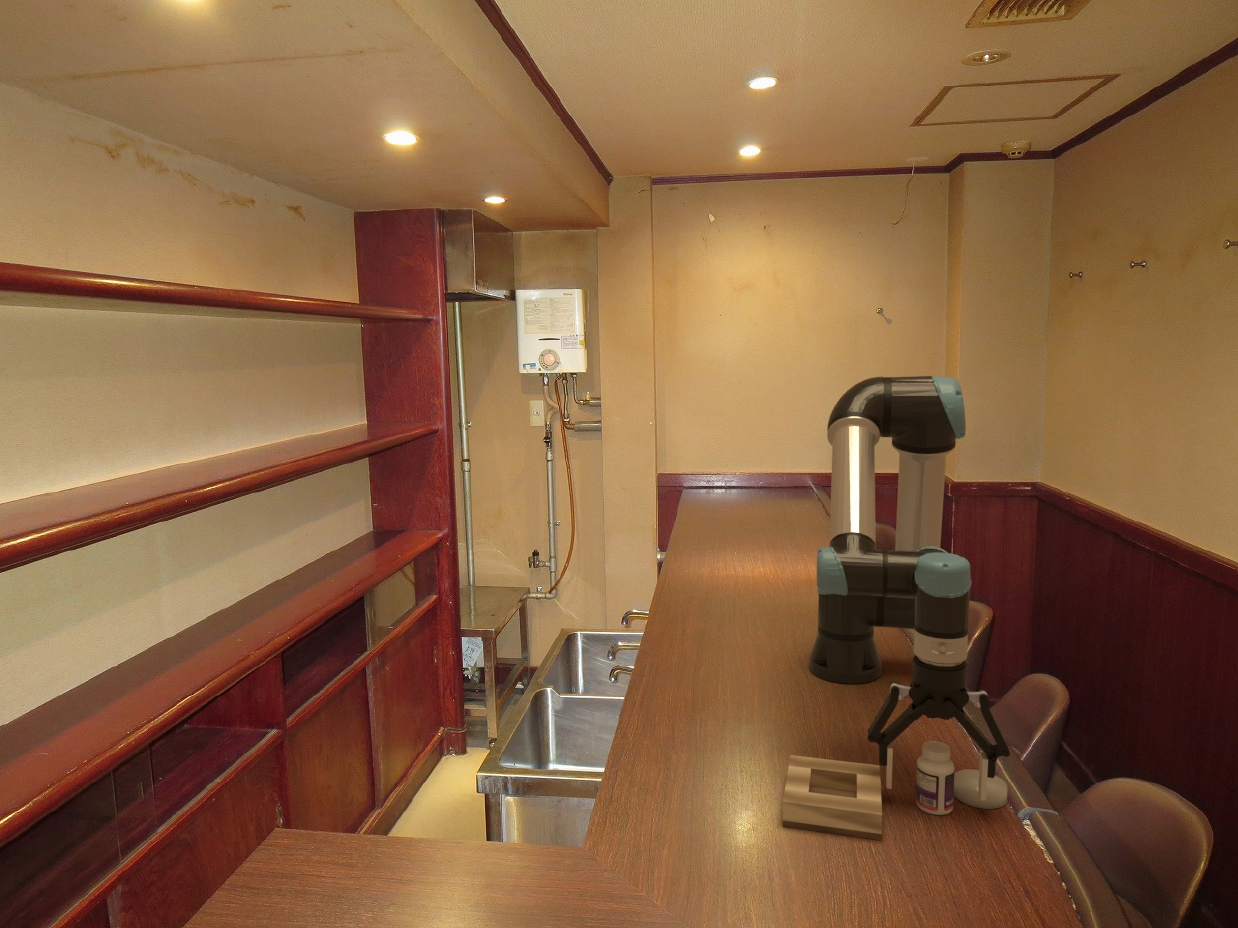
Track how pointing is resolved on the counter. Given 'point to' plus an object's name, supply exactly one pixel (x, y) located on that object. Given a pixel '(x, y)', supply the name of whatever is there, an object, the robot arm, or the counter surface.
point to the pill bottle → (935, 779)
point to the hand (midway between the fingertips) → (934, 789)
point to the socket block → (833, 797)
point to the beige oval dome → (969, 793)
